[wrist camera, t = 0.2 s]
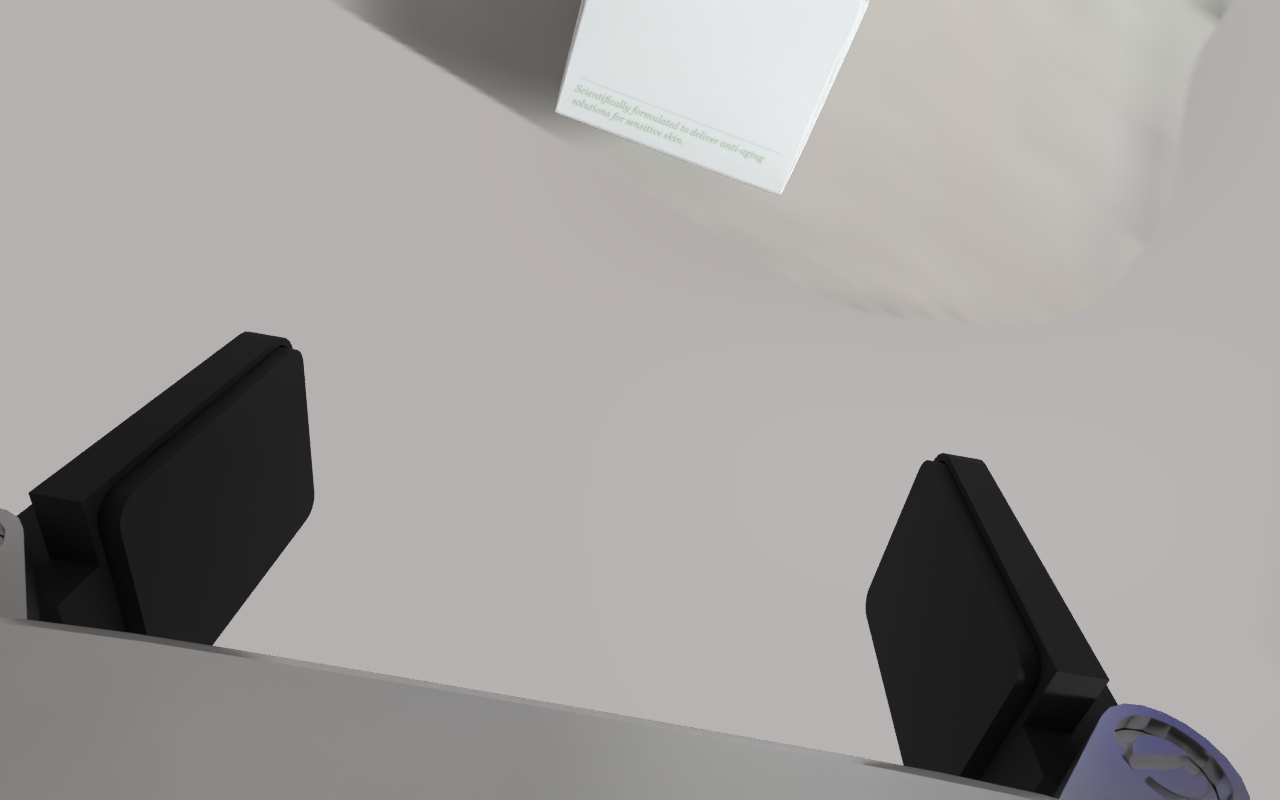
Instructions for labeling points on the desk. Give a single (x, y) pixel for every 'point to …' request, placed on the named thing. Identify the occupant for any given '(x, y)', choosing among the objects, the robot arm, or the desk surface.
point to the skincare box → (709, 77)
